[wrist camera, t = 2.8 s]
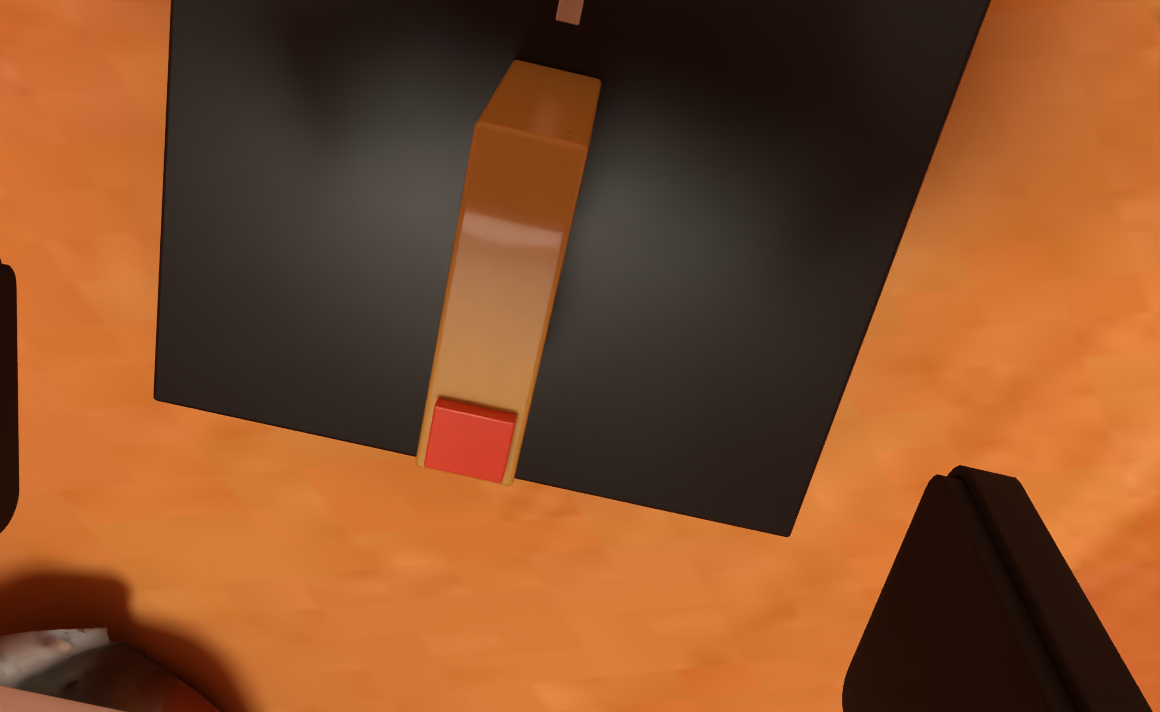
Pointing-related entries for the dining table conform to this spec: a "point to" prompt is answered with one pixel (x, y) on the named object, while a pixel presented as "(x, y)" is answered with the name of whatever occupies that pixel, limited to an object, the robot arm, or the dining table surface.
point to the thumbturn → (506, 269)
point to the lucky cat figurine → (93, 672)
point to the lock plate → (598, 233)
